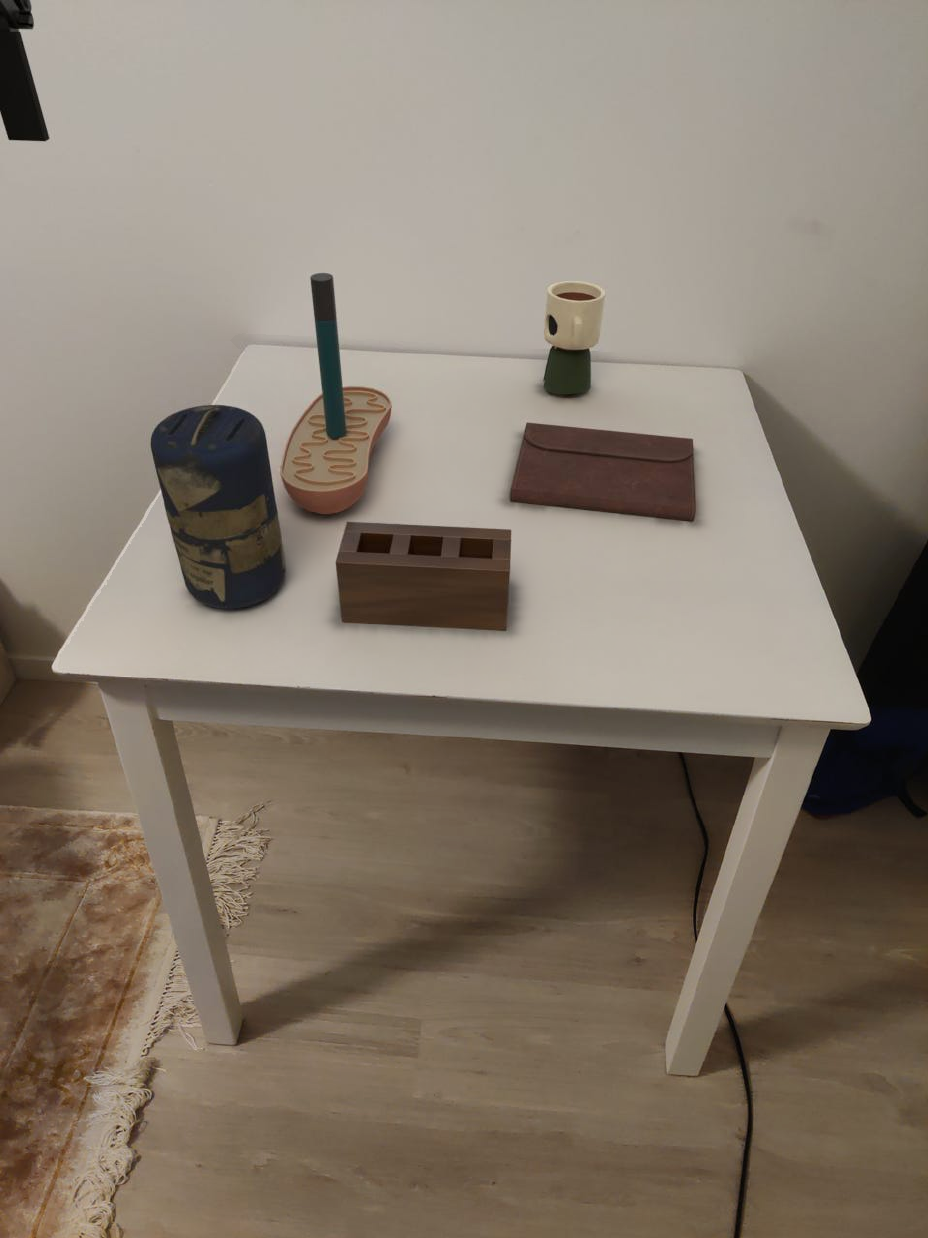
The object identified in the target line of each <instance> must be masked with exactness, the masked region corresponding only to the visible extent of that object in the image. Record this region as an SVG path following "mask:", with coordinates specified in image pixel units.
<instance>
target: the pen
mask: <svg viewBox="0 0 928 1238" xmlns="http://www.w3.org/2000/svg"><path fill="white" fill-rule="evenodd" d="M309 280H310V288H311V299H312V307H313V317H314V327H315V336H316V345H317V346H316V347H317V355H318V356H317V357H318V364H319V367H318V368H319V374H320V385H321V394H322V396H323V405H324V415H325V424H326V434H327V435H328V436H329V437H332V438H339V437H342V436H344V435H345V434H346V420H345V409H344V397H343V387H344V386H343V377H342V375H343V374H342V364H341V363H342V362H341V352H340V341H339V329H338V327H339V326H338V318H337V306H336V294H335V293H336V291H335V283H334V276H333V274H331V273H329V272H328V273H327V272H318V273H314V274H312V275H310V279H309Z"/></svg>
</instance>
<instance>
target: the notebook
mask: <svg viewBox="0 0 928 1238" xmlns="http://www.w3.org/2000/svg"><path fill="white" fill-rule="evenodd" d="M694 450H695V449H694V439H693V438H690V437H689V438H687V437H679V436H678V437H677V436H668V435H656V434H647V433H639V432H638V433H636V432H627V431H617V430H606V429H598V428H597V429H596V428H586V427H577V426H566V425H559V424H558V425H557V424H547V423H537V422H526V423H525V427H524V431H523V438H522V441H521V445H520V449H519V453H518V458H517V460H516V461H517V462H516V466H515V469H514V474H513V478H512V482H511V486H510V491H509V493H510V494H509V501H510V502H518V503H526V504H535V505H543V506H553V507H560V508H570V509H571V508H572V509H579V510H588V511H598V512H606V513H614V514H615V513H616V514H623V515H624V514H625V515H633V516H634V515H635V516H642V517H651V518H661V519H670V520H678V521H688V522H694V521H695V518H696V512H697V502H696V501H697V500H696V481H695V462H694Z"/></svg>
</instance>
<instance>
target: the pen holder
mask: <svg viewBox="0 0 928 1238" xmlns="http://www.w3.org/2000/svg"><path fill="white" fill-rule="evenodd" d="M511 557H512V529H510V528H509V529H507V528H488V527H487V528H486V527H467V526H466V527H465V526H448V525H447V526H446V525H425V524H423V525H422V524H404V523H383V522H382V523H381V522H366V521H365V522H363V521H346V523H345V527H344V530H343V535H342V539H341V541H340V545H339V549H338V553H337V555H336V559H335V570H336V579H337V581H336V582H337V588H338V589H337V590H338V600H339V608H340V618H341V622H342V623H351V624H352V623H353V624H373V625H388V626H389V625H390V626H391V625H392V626H410V627H428V628H446V629H447V628H448V629H469V630H486V631H504V632H505V631H507V624H508V610H509V609H508V608H509V597H510V596H509V595H510V579H511V560H512V559H511Z"/></svg>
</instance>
